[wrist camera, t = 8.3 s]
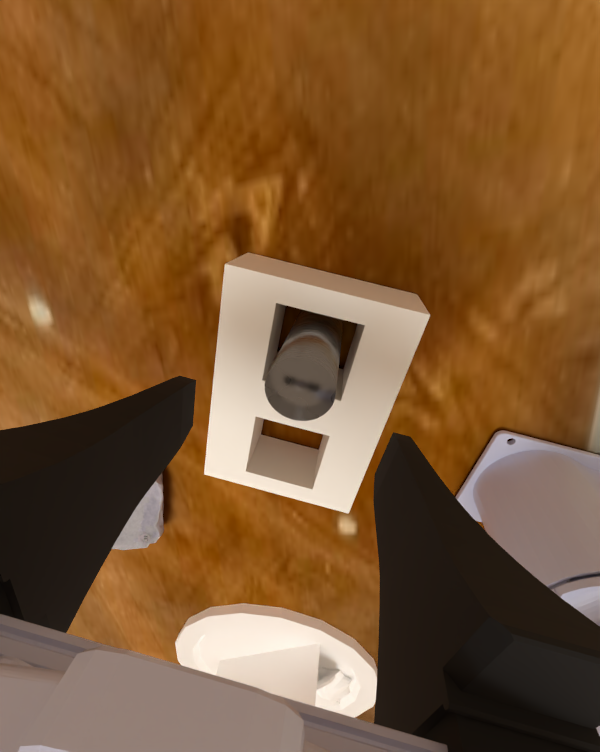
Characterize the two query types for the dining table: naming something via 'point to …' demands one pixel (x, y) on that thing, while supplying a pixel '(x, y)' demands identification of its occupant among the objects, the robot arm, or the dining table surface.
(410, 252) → the dining table surface
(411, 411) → the dining table surface
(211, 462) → the hole block
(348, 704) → the dish
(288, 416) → the peg
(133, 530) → the stone block
